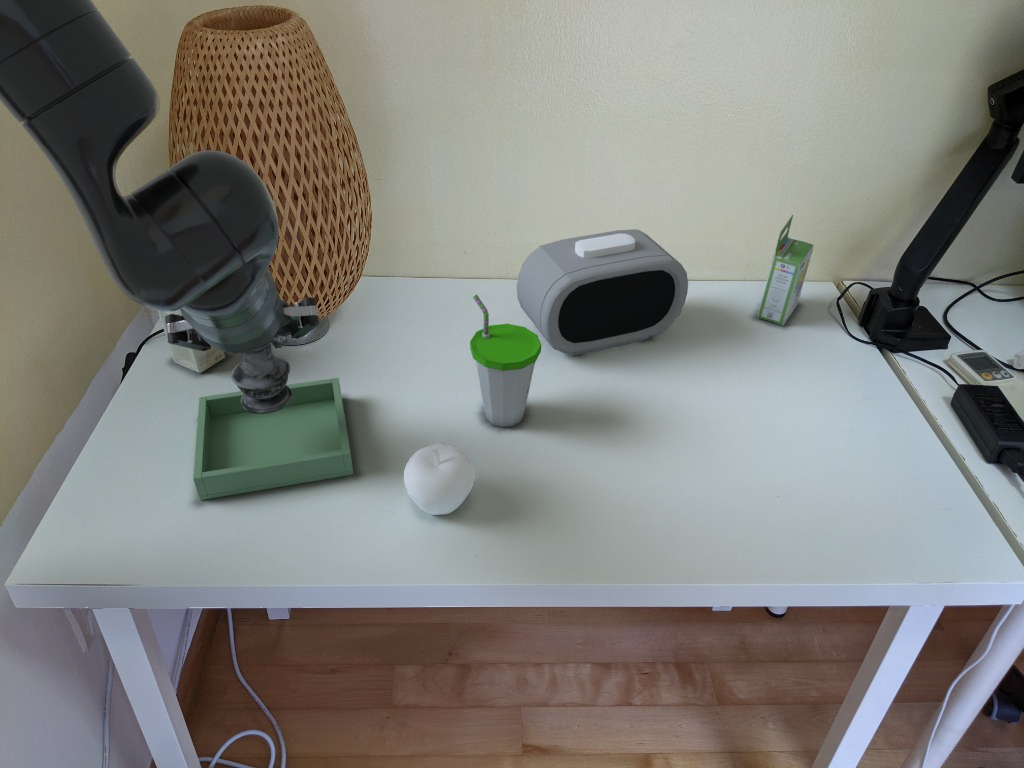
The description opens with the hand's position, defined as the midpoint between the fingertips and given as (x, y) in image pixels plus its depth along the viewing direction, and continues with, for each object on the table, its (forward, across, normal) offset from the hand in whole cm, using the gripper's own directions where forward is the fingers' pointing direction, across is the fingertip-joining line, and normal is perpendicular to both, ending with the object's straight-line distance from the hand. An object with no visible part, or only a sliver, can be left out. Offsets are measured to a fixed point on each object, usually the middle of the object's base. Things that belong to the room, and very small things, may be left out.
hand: (255, 341), depth 80 cm
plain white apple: (-1, -16, +20) cm, 25 cm away
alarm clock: (+17, -43, +1) cm, 46 cm away
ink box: (+16, -70, +2) cm, 72 cm away
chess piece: (+3, 0, +6) cm, 7 cm away
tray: (+8, 0, +10) cm, 13 cm away
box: (+21, +9, -3) cm, 23 cm away
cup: (+7, -26, +11) cm, 29 cm away
